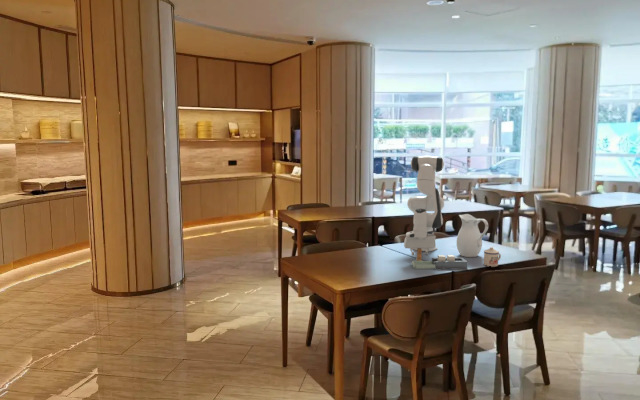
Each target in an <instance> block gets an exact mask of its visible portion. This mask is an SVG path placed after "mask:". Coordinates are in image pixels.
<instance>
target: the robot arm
mask: <svg viewBox="0 0 640 400" xmlns="http://www.w3.org/2000/svg"><path fill="white" fill-rule="evenodd" d="M444 166H445V161H444V160H443V157H441V156H434V155H433V156H432V155H421V156H418V155H415V156H413V157H412V158H411V161H410V167H411V170H412V171H414V172H416V173H417V177H416V179H417V180H416V188H417V190H418V192H420V193H421V194H422V196H421V195H417V196H416V195H415V196H411V197H409V198H408V200H407V208H408V210H409V211H411V212H412V213H413V218H412V223H413V228H412V229H413V230H412V231H408V232H406V233H405V235H406V236H405V238H404V240H403V241H404V242H403V246H404V248H405V249H409V250H410V253H411V256H415V251H417V248H421V249H422V252H424V255H425V256H428V253H429V252H433V251H436V250H438V247H437V246H436V245H437V244H436V239H437V236H436V235H435V234H434V229H440V228H441V227H442V226H443V224H444V218H443V214H442V210H443V209H444V207H445V201H444V199H443V197H441V195H440V193H439V192H440V191H439V189H438V188H436V173H440V172H441V171H443V169H444ZM413 250H414V251H413Z"/></svg>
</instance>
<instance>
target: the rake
mask: <svg viewBox="0 0 640 400" xmlns="http://www.w3.org/2000/svg"><path fill="white" fill-rule="evenodd" d="M416 251H417V252H416V258H415V259H416V260H415V261H423V259H422V258H423V257H422V255H423V254H422V252H423V251H422V249H421V248H417V250H416Z"/></svg>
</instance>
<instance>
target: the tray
mask: <svg viewBox="0 0 640 400" xmlns="http://www.w3.org/2000/svg"><path fill="white" fill-rule="evenodd" d="M411 266H412V268H413V269H414V270H431V269H432V270H435V269H434V268H436V265H432V260H422V261H416V260H411Z"/></svg>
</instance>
